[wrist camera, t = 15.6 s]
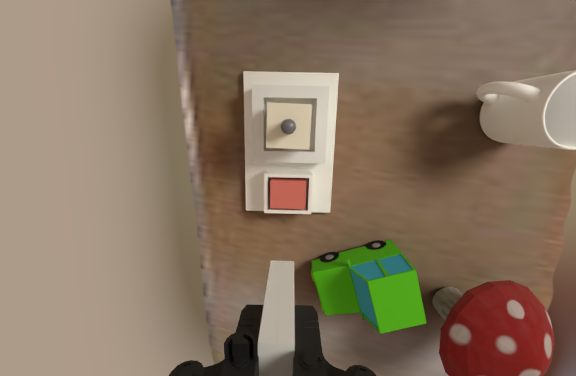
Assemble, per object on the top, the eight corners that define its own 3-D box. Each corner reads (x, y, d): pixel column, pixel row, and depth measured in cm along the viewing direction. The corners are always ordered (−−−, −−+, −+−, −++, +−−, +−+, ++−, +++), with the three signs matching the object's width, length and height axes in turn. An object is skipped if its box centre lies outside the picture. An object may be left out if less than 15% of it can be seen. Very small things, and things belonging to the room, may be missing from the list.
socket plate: (244, 72, 37) (239, 67, 34) (337, 74, 37) (342, 69, 34) (246, 208, 42) (242, 216, 39) (329, 211, 42) (332, 218, 38)
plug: (272, 106, 37) (265, 100, 27) (308, 107, 37) (313, 103, 27) (271, 142, 38) (264, 149, 29) (306, 144, 38) (310, 151, 29)
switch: (271, 177, 39) (270, 180, 37) (305, 178, 39) (306, 181, 37) (271, 204, 40) (270, 208, 38) (304, 204, 40) (305, 209, 38)
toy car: (306, 251, 44) (310, 288, 34) (386, 230, 42) (414, 262, 33) (322, 302, 46) (330, 351, 36) (398, 284, 45) (427, 329, 35)
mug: (442, 118, 38) (496, 117, 28) (474, 60, 36) (544, 37, 26) (514, 151, 39) (590, 161, 29) (549, 96, 37) (643, 87, 27)
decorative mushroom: (423, 240, 43) (490, 302, 28) (516, 261, 43) (630, 332, 29) (391, 322, 46) (436, 413, 32) (477, 340, 47) (560, 438, 32)
